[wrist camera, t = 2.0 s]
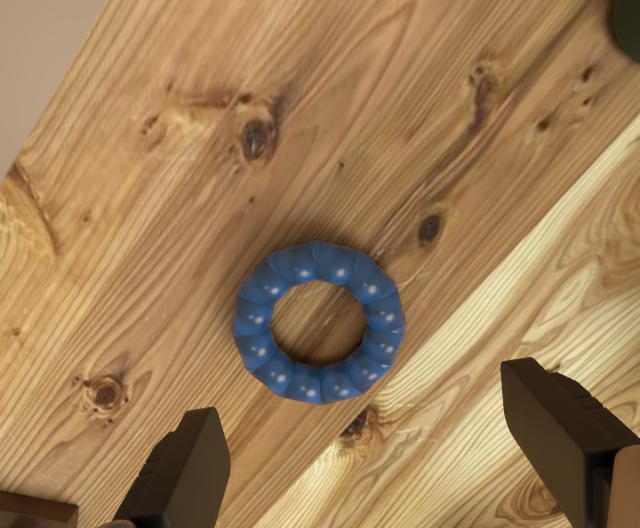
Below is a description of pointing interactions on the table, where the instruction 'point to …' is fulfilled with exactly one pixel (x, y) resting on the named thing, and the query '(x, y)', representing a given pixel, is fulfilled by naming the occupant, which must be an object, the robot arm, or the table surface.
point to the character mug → (628, 26)
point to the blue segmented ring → (333, 268)
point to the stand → (35, 512)
